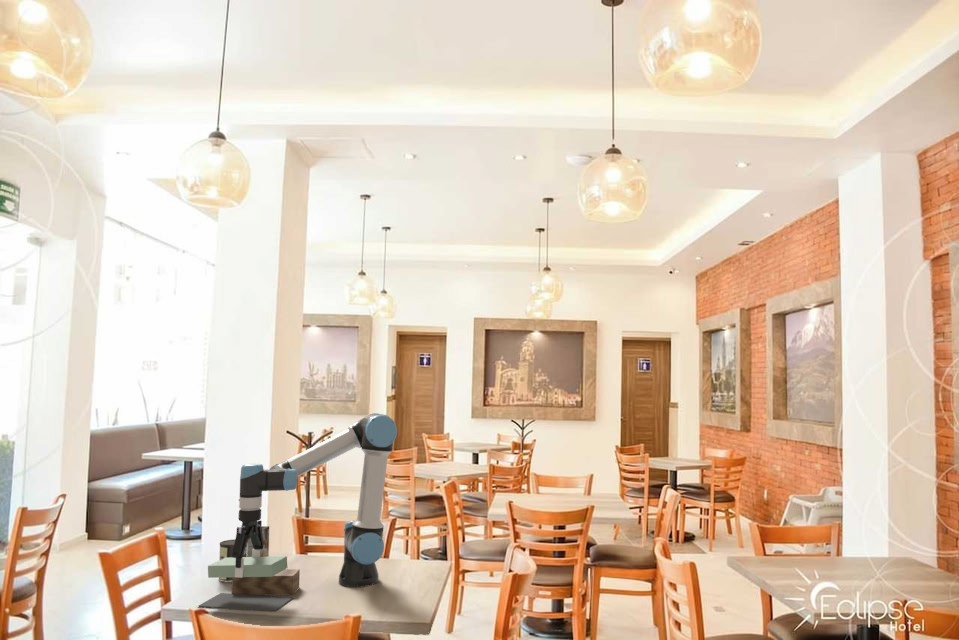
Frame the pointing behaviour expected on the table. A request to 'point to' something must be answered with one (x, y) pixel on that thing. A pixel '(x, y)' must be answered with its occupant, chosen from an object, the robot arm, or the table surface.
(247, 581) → the box
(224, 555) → the coffee can
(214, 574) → the lid
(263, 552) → the coffee box
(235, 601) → the mat
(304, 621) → the table surface
